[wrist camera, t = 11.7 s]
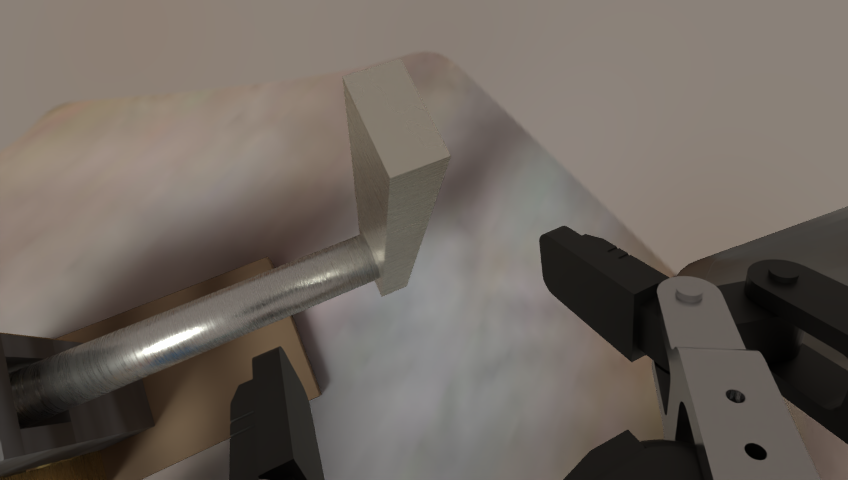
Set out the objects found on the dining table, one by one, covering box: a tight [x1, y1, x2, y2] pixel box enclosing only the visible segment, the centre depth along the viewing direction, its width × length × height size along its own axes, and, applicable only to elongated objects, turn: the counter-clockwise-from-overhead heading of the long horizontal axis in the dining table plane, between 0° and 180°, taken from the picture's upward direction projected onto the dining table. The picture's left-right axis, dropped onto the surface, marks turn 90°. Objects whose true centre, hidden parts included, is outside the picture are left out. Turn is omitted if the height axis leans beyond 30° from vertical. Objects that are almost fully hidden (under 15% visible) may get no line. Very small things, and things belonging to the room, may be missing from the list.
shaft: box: [8, 59, 451, 429], centre depth 17 cm, size 18×3×16 cm, turn 115°
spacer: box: [0, 333, 107, 480], centre depth 22 cm, size 2×9×9 cm, turn 25°
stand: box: [0, 257, 322, 480], centre depth 22 cm, size 21×10×12 cm, turn 115°
